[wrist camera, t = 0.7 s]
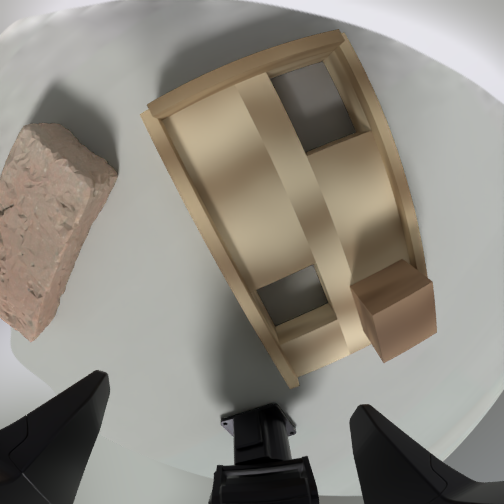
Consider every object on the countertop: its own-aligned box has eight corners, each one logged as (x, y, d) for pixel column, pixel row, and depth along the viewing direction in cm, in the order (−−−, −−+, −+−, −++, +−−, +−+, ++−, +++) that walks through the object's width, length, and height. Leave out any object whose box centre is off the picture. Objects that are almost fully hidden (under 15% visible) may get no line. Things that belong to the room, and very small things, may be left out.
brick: (53, 118, 16) (17, 116, 12) (126, 172, 19) (97, 180, 14) (-1, 272, 20) (-28, 291, 16) (55, 322, 22) (32, 349, 18)
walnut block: (411, 305, 20) (436, 332, 16) (363, 331, 21) (383, 363, 17) (402, 258, 19) (432, 281, 15) (349, 285, 19) (372, 315, 15)
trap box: (412, 299, 23) (438, 325, 19) (284, 361, 24) (292, 398, 20) (327, 49, 16) (350, 27, 12) (155, 120, 17) (134, 112, 13)
